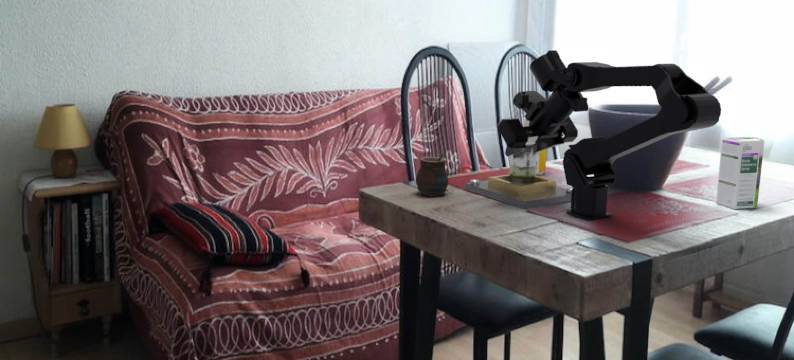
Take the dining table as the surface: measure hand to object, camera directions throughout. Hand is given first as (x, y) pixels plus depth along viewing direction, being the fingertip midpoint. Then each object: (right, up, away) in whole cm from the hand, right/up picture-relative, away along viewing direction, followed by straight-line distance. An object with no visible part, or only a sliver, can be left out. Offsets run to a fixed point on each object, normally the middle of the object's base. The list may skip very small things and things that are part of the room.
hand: (518, 153), depth 153 cm
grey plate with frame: (+1, -9, +1) cm, 9 cm away
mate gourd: (-19, -9, +1) cm, 21 cm away
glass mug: (0, -7, +2) cm, 7 cm away
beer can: (+8, -4, +23) cm, 25 cm away
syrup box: (+44, -11, -7) cm, 46 cm away
